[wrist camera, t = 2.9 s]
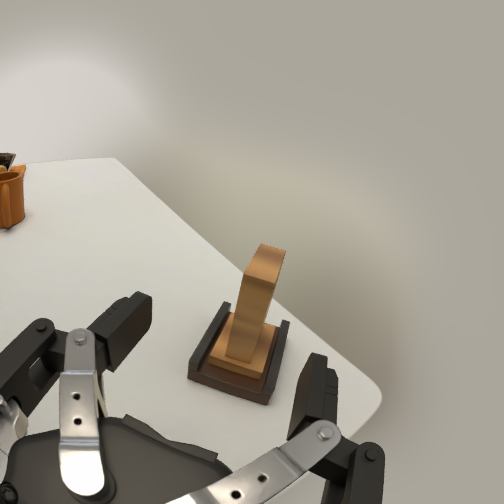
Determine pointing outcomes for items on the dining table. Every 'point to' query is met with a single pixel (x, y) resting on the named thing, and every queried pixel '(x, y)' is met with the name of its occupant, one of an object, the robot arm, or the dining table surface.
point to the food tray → (9, 163)
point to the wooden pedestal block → (250, 317)
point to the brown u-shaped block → (231, 380)
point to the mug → (11, 198)
